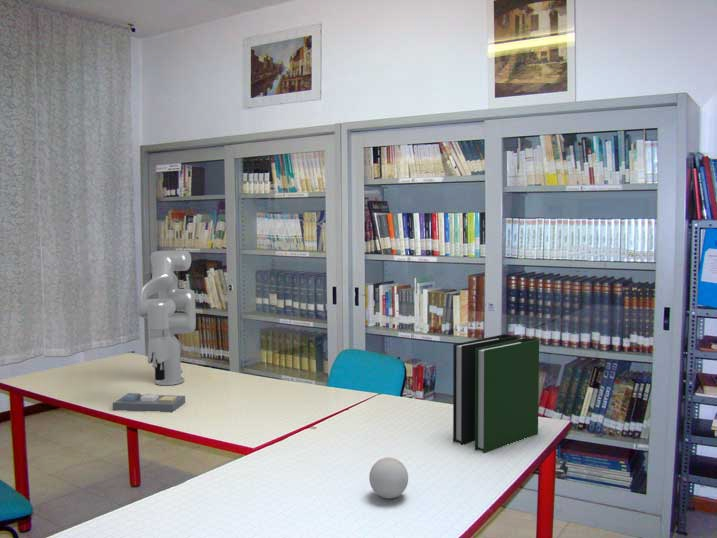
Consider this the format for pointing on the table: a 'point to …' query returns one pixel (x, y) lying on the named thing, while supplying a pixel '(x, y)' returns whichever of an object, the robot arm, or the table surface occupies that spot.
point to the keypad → (149, 404)
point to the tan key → (168, 399)
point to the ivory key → (149, 397)
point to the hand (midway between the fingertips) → (160, 379)
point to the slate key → (131, 397)
